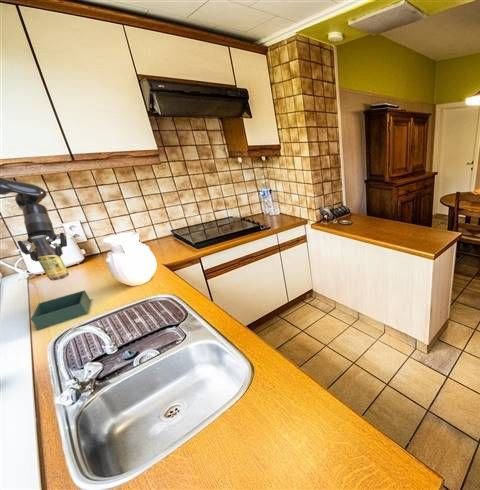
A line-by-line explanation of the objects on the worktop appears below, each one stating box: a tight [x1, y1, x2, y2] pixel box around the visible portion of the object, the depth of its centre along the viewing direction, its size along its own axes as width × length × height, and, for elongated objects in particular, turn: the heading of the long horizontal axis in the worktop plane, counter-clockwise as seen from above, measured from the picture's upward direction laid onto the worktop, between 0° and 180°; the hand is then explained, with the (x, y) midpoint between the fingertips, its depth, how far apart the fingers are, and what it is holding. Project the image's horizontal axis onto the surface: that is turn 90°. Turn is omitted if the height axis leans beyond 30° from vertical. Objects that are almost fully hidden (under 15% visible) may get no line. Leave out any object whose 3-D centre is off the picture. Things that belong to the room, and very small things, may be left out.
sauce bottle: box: [31, 235, 70, 281], centre depth 114 cm, size 6×6×20 cm
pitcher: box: [102, 231, 158, 287], centre depth 133 cm, size 19×18×25 cm
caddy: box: [30, 290, 91, 331], centre depth 113 cm, size 14×14×5 cm
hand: (47, 257), depth 113 cm, fingers closed on sauce bottle, 6 cm apart
